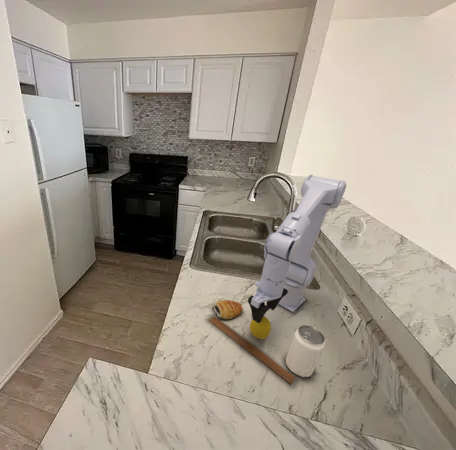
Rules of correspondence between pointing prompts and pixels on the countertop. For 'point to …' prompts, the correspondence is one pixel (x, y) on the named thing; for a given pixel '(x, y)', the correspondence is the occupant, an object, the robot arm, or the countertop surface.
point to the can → (305, 350)
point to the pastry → (227, 309)
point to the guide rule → (253, 351)
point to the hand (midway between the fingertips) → (263, 314)
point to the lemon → (260, 328)
